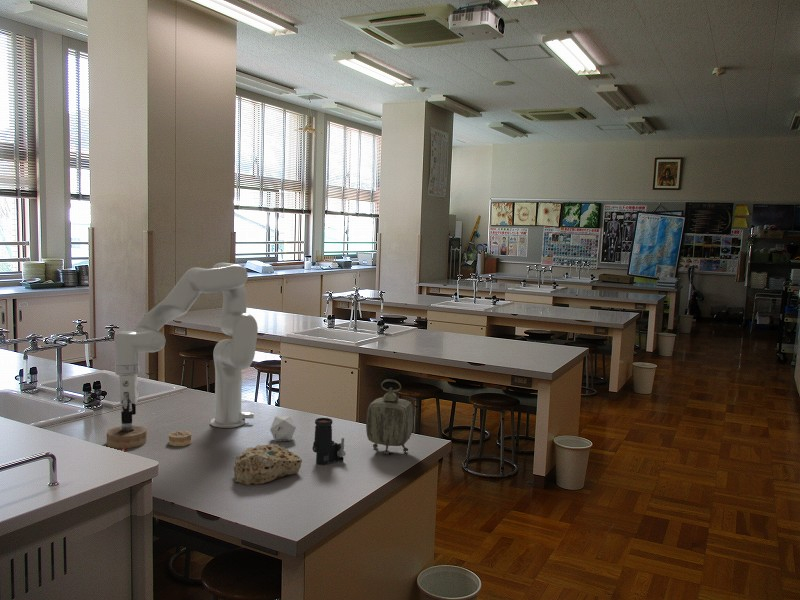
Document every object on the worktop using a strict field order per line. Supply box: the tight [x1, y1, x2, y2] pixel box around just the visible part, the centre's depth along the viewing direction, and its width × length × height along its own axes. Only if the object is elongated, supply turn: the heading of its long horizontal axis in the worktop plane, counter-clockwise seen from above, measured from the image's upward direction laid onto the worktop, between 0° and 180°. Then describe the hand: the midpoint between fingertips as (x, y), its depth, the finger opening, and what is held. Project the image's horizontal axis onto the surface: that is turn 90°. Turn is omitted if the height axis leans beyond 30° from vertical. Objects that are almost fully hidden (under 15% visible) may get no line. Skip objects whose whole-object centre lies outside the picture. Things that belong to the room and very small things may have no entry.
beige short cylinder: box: [168, 430, 192, 447], centre depth 217 cm, size 7×7×3 cm
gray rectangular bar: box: [120, 406, 133, 433], centre depth 215 cm, size 3×3×12 cm
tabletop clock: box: [365, 378, 415, 456], centre depth 215 cm, size 14×9×25 cm, turn 74°
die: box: [269, 415, 297, 442], centre depth 224 cm, size 8×9×10 cm
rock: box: [232, 443, 303, 486], centre depth 192 cm, size 21×14×10 cm
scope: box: [312, 417, 346, 466], centre depth 204 cm, size 8×14×10 cm
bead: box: [106, 424, 148, 449], centre depth 215 cm, size 12×12×4 cm
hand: (128, 418), depth 215 cm, fingers open, 9 cm apart
